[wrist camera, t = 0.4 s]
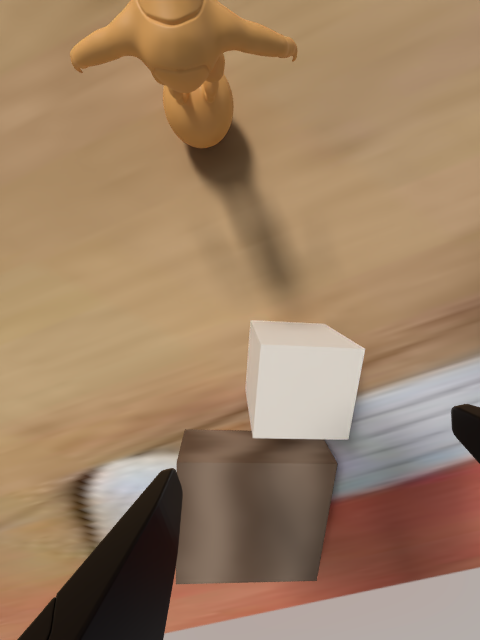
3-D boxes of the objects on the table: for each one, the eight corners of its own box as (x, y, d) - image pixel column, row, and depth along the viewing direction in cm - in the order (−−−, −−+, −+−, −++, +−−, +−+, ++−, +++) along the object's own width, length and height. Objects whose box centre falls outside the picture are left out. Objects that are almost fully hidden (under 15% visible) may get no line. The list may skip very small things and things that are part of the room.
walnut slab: (318, 429, 22) (337, 463, 18) (302, 531, 25) (316, 580, 21) (185, 426, 22) (176, 462, 18) (184, 532, 24) (176, 584, 20)
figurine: (263, 85, 16) (367, -424, 4) (268, 187, 17) (356, 25, 5) (133, 93, 15) (-154, -431, 4) (149, 196, 17) (-26, 44, 5)
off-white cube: (323, 323, 20) (364, 348, 14) (314, 390, 21) (348, 439, 15) (250, 320, 19) (260, 344, 14) (245, 388, 21) (252, 438, 15)
